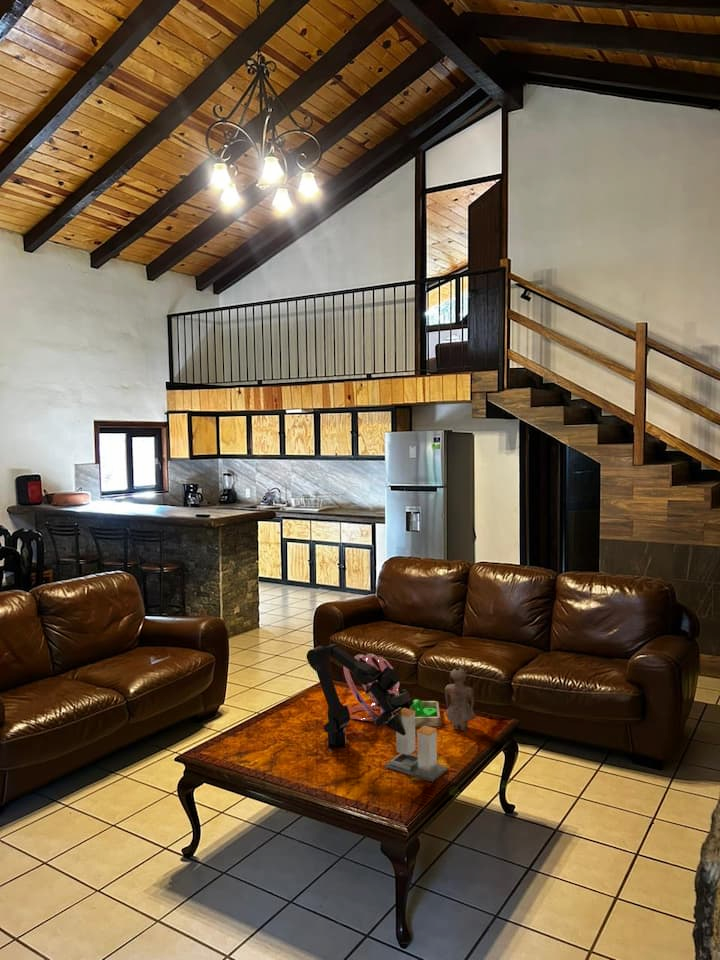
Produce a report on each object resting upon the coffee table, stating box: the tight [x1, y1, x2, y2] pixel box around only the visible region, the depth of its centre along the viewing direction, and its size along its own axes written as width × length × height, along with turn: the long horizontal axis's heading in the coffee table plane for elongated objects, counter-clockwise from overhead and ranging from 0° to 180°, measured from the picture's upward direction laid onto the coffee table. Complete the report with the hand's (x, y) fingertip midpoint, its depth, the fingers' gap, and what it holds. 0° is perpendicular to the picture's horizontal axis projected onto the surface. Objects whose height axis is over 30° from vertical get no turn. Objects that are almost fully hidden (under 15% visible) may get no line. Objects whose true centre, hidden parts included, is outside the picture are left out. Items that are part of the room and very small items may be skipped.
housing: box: [384, 725, 448, 783], centre depth 256 cm, size 20×10×16 cm, turn 54°
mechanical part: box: [410, 698, 437, 717], centre depth 304 cm, size 12×6×8 cm, turn 138°
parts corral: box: [415, 700, 441, 727], centre depth 303 cm, size 12×18×4 cm, turn 177°
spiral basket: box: [343, 653, 400, 722], centre depth 306 cm, size 28×28×27 cm
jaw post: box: [395, 708, 416, 755], centre depth 258 cm, size 5×5×15 cm
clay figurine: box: [444, 667, 476, 731], centre depth 290 cm, size 13×10×25 cm
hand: (408, 732), depth 258 cm, fingers closed on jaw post, 5 cm apart
